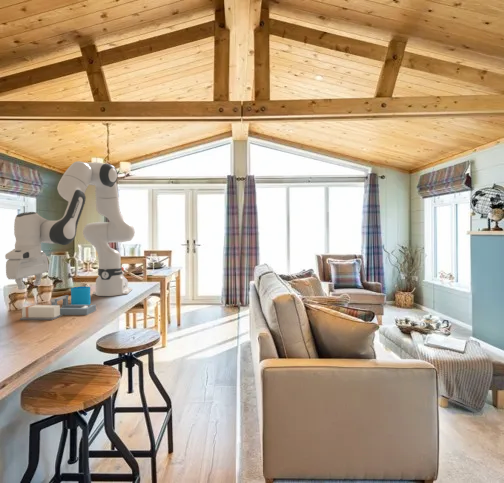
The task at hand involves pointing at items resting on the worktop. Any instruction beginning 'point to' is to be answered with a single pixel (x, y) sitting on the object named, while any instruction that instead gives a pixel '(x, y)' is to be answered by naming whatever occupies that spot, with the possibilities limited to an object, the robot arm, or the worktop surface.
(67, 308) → the dispenser
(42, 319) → the pad
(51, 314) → the beige rectangular block
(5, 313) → the worktop surface
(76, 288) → the mug
